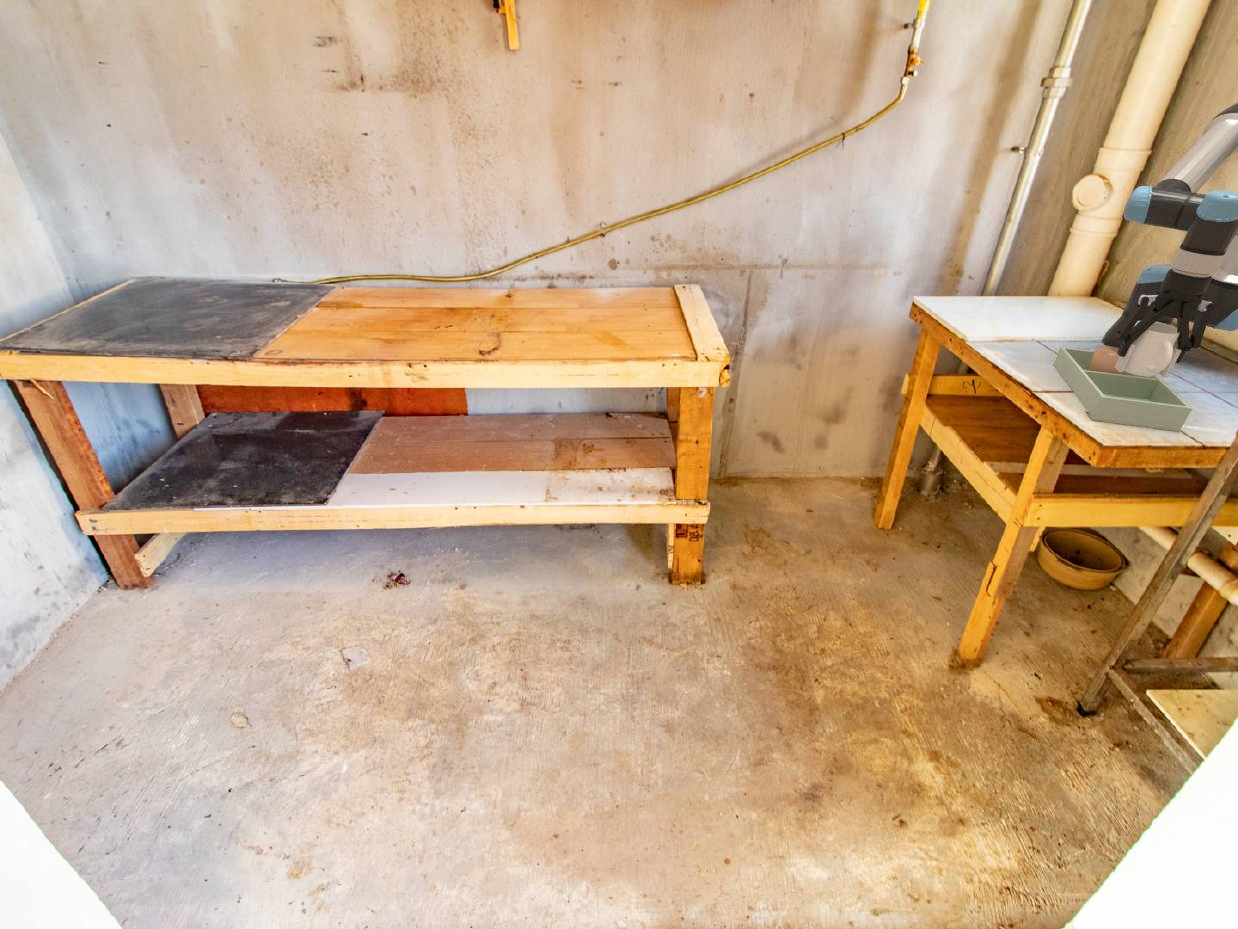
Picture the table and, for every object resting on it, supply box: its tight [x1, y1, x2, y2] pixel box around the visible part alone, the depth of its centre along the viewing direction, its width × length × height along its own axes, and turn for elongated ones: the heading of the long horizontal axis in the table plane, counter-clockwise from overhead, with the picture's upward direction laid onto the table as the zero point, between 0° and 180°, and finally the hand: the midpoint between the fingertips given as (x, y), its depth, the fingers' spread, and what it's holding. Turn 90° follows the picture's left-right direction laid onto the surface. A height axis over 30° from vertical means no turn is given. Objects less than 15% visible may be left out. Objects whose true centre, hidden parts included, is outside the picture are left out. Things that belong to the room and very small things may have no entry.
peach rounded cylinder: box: [1087, 345, 1125, 375], centre depth 162 cm, size 8×8×8 cm
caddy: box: [1053, 347, 1193, 432], centre depth 157 cm, size 18×30×6 cm, turn 165°
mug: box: [1123, 321, 1180, 377], centre depth 145 cm, size 12×8×10 cm
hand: (1140, 372), depth 147 cm, fingers closed on mug, 8 cm apart
